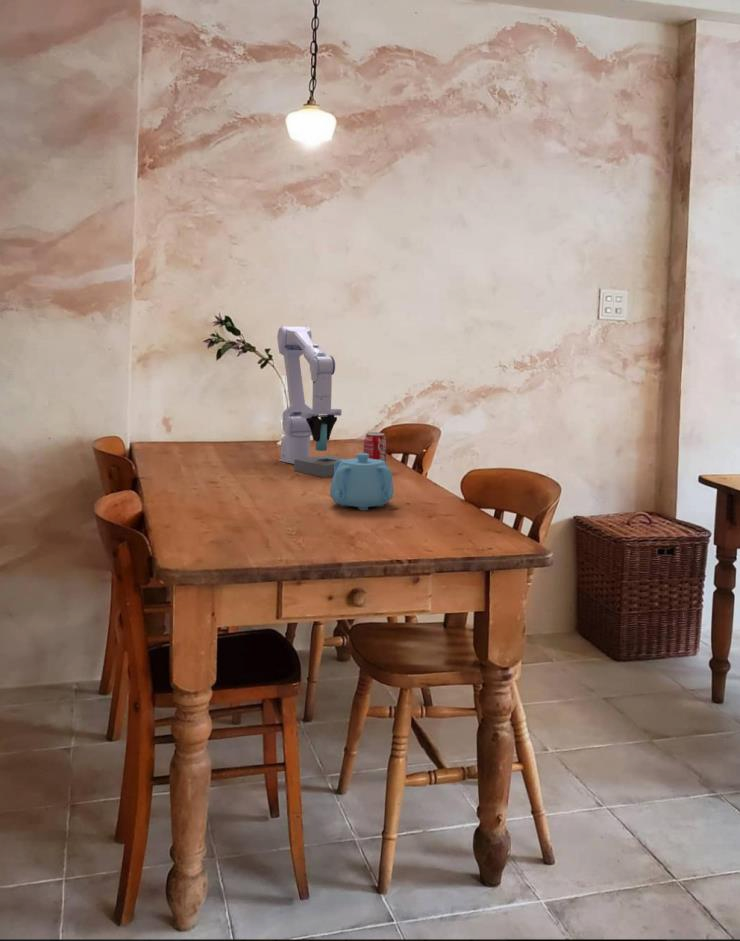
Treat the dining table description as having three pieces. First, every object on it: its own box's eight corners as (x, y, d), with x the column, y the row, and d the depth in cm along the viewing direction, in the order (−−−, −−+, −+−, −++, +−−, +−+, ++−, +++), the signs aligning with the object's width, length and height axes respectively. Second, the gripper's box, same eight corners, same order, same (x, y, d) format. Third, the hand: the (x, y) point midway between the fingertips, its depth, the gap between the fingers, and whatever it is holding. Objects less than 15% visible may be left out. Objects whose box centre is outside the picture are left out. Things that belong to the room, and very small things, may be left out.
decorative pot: (332, 498, 248) (333, 448, 245) (392, 499, 247) (393, 449, 245) (328, 511, 232) (329, 458, 229) (392, 513, 231) (393, 459, 229)
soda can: (386, 470, 291) (387, 432, 289) (384, 474, 284) (385, 435, 282) (364, 469, 292) (365, 431, 290) (361, 473, 285) (362, 434, 283)
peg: (313, 449, 284) (313, 423, 282) (321, 448, 286) (322, 423, 285) (320, 451, 281) (321, 425, 280) (328, 450, 284) (329, 424, 282)
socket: (294, 470, 286) (294, 459, 286) (328, 466, 296) (328, 455, 295) (324, 477, 276) (324, 465, 276) (358, 472, 286) (358, 461, 285)
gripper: (312, 398, 273) (311, 444, 275) (348, 396, 283) (347, 440, 285) (296, 396, 278) (296, 441, 280) (333, 394, 288) (332, 437, 290)
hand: (321, 440), depth 283 cm, fingers closed on peg, 3 cm apart
